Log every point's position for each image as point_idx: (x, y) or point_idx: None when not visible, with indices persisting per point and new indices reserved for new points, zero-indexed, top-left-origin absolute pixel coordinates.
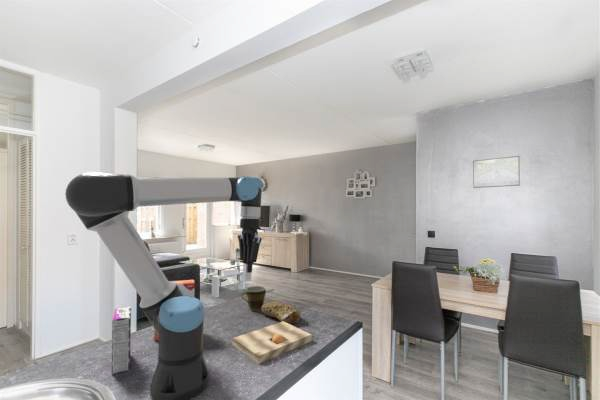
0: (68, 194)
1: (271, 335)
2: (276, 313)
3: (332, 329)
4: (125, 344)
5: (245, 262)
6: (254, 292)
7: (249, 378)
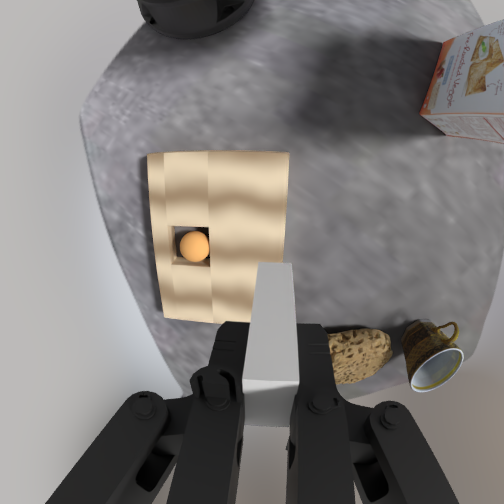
0: None
1: (221, 248)
2: None
3: (189, 368)
4: None
5: (218, 382)
6: (427, 357)
7: (124, 109)
